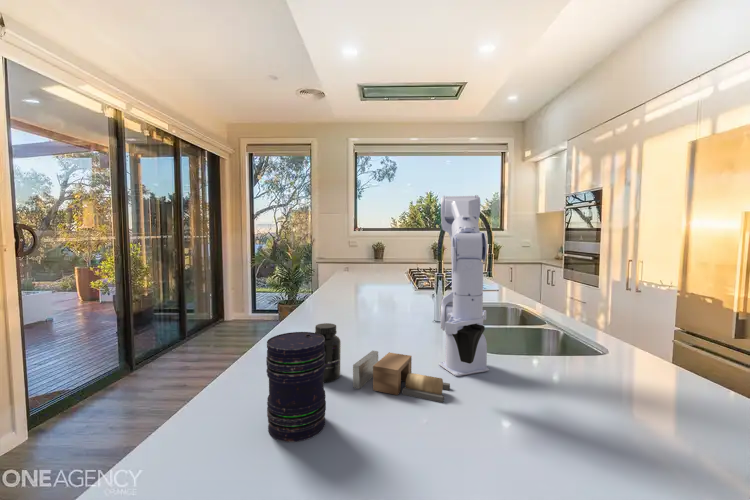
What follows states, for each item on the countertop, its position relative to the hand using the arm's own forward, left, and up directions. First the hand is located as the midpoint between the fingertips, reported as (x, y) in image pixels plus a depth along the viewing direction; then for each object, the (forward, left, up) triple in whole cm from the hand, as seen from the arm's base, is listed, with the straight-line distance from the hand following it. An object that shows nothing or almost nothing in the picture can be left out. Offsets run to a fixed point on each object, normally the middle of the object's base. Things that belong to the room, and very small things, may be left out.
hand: (466, 361), depth 68 cm
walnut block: (+11, -11, -8) cm, 17 cm away
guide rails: (+6, -6, -8) cm, 11 cm away
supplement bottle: (+24, -21, -8) cm, 33 cm away
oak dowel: (+6, -6, -8) cm, 11 cm away
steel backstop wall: (+16, -16, -8) cm, 24 cm away
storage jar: (+33, -3, -8) cm, 34 cm away
